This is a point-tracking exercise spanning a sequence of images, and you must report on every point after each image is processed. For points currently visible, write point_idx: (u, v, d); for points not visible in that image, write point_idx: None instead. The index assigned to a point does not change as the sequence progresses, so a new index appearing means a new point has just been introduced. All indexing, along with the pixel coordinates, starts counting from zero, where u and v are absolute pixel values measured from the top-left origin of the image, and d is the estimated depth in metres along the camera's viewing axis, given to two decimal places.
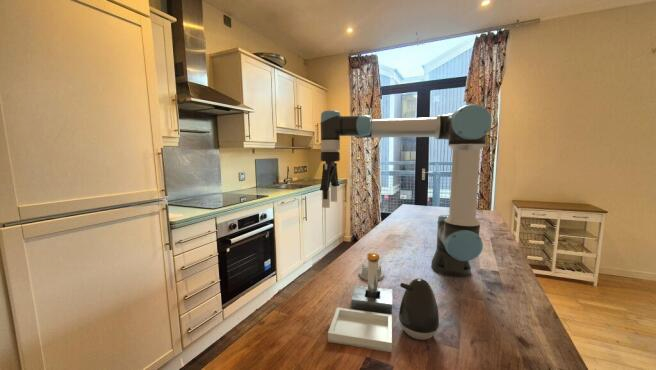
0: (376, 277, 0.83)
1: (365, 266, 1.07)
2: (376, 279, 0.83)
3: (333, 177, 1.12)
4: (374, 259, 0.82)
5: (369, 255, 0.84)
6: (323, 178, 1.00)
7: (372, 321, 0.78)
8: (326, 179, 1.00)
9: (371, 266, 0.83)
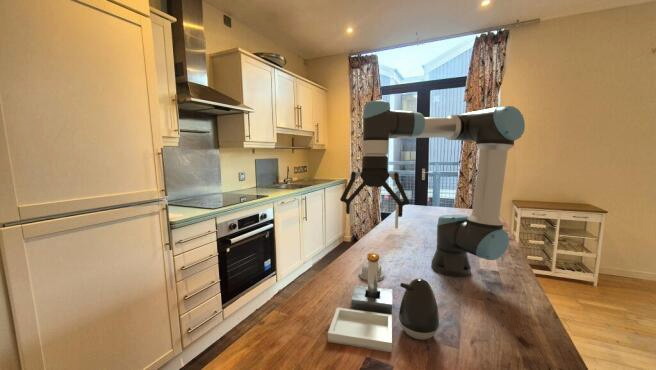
0: (376, 277, 0.83)
1: (365, 266, 1.07)
2: (376, 279, 0.83)
3: (388, 192, 0.80)
4: (374, 259, 0.82)
5: (369, 255, 0.84)
6: None
7: (372, 321, 0.78)
8: (345, 189, 0.83)
9: (371, 266, 0.83)
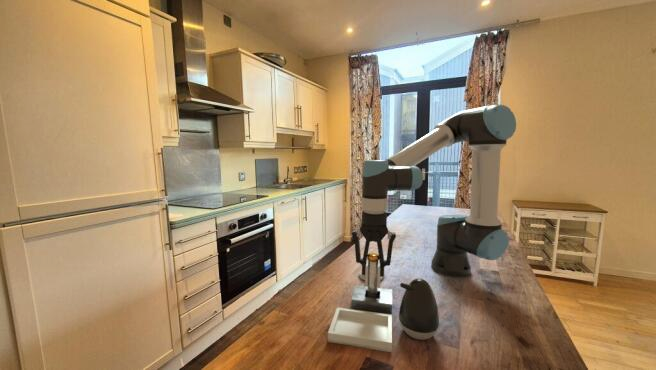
0: (376, 277, 0.83)
1: None
2: (376, 279, 0.83)
3: (378, 248, 0.83)
4: (374, 259, 0.82)
5: (369, 255, 0.84)
6: None
7: (372, 321, 0.78)
8: None
9: (371, 266, 0.83)
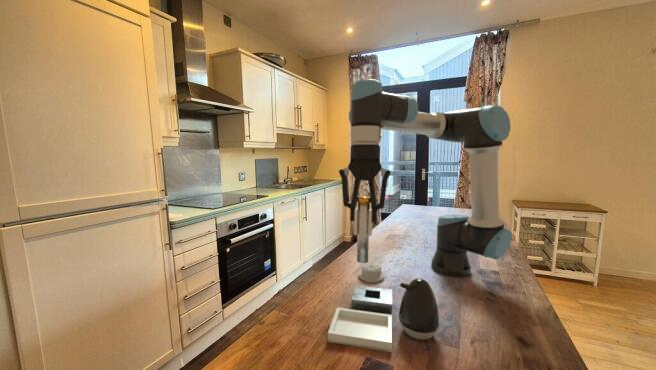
0: (367, 223, 0.71)
1: (365, 267, 1.06)
2: (367, 226, 0.71)
3: None
4: (365, 201, 0.69)
5: (359, 197, 0.71)
6: None
7: (372, 321, 0.78)
8: None
9: (361, 210, 0.70)
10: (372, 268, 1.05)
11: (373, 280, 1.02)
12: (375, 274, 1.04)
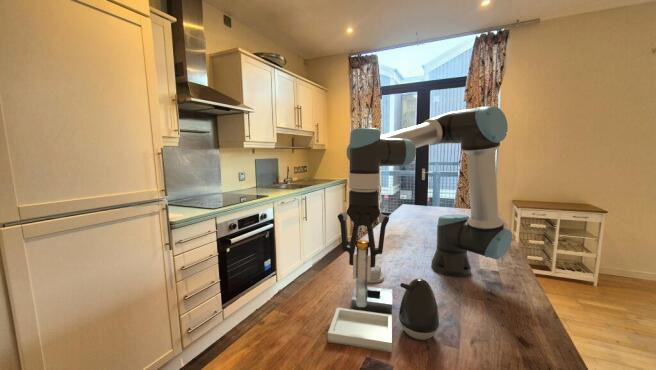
0: (366, 268, 0.71)
1: None
2: (366, 270, 0.71)
3: (368, 234, 0.70)
4: (363, 246, 0.69)
5: (358, 242, 0.71)
6: None
7: (372, 321, 0.78)
8: None
9: (360, 255, 0.70)
10: (372, 268, 1.05)
11: (373, 280, 1.02)
12: (375, 275, 1.03)
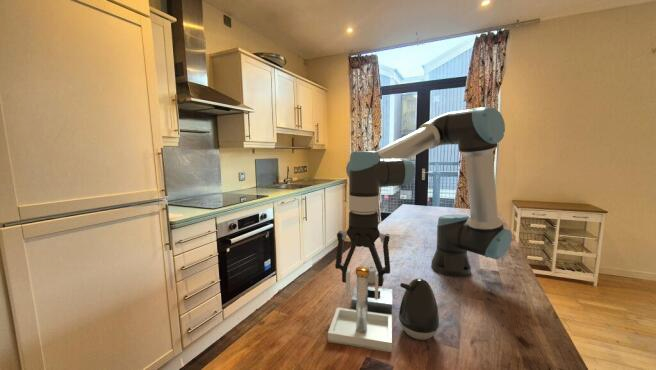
0: (366, 295, 0.72)
1: None
2: (366, 297, 0.72)
3: (372, 255, 0.71)
4: (363, 274, 0.70)
5: (358, 269, 0.72)
6: None
7: (372, 321, 0.78)
8: None
9: (360, 282, 0.71)
10: (372, 269, 1.05)
11: (373, 280, 1.02)
12: None
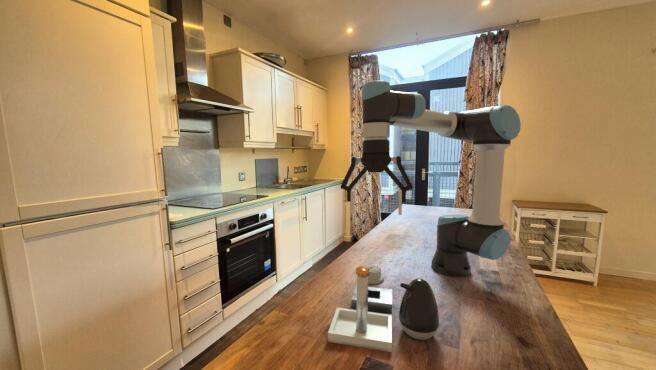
0: (366, 295, 0.72)
1: None
2: (366, 297, 0.72)
3: None
4: (364, 274, 0.70)
5: (358, 269, 0.72)
6: None
7: (372, 321, 0.78)
8: (345, 176, 0.79)
9: (360, 282, 0.71)
10: (372, 269, 1.04)
11: (373, 281, 1.01)
12: (375, 276, 1.02)
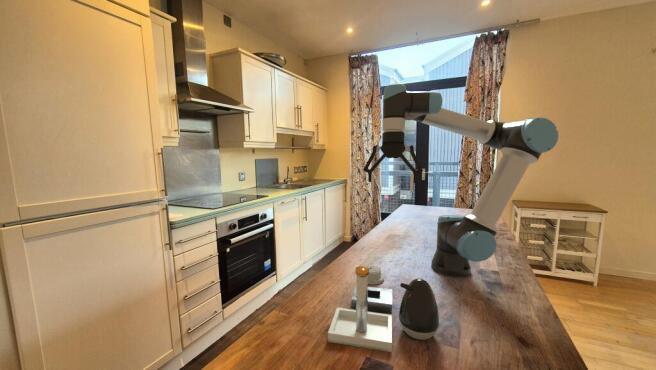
0: (366, 294, 0.72)
1: None
2: (366, 297, 0.72)
3: None
4: (363, 274, 0.70)
5: (357, 269, 0.72)
6: None
7: (372, 321, 0.78)
8: (367, 161, 0.97)
9: (360, 282, 0.71)
10: (372, 270, 1.04)
11: (373, 282, 1.01)
12: (375, 276, 1.02)
